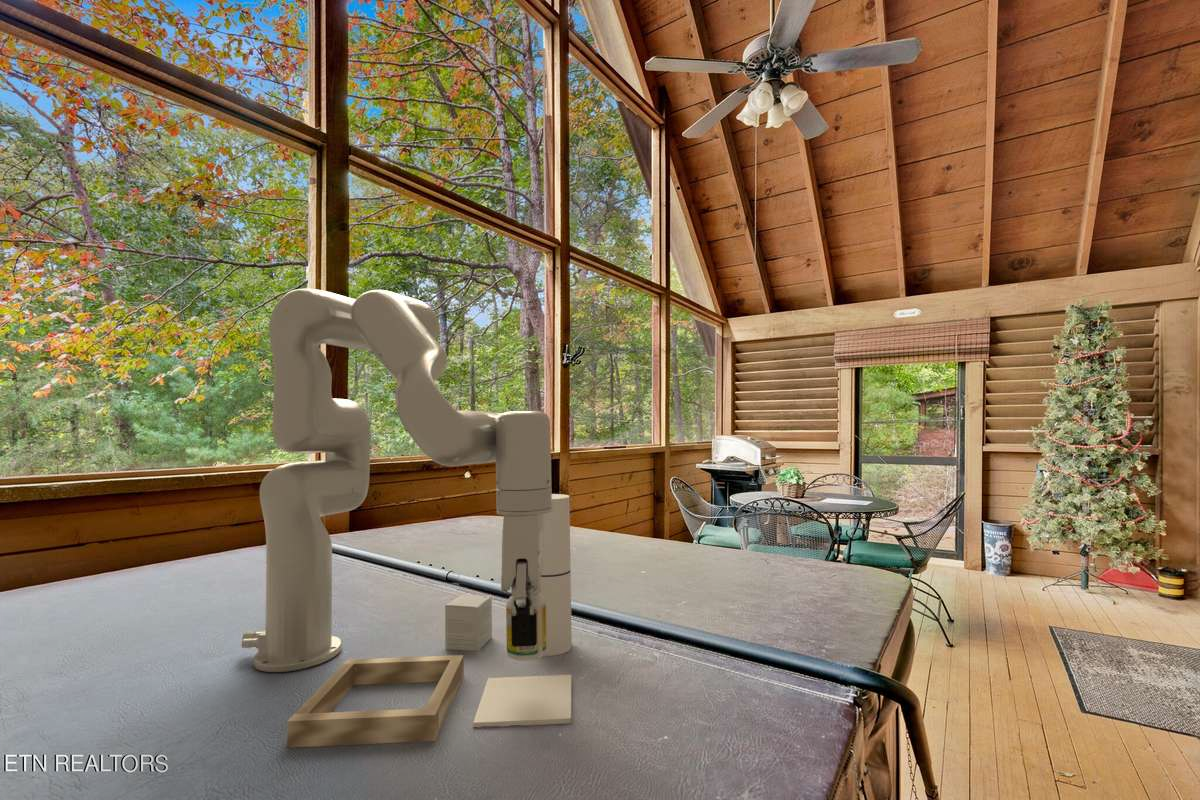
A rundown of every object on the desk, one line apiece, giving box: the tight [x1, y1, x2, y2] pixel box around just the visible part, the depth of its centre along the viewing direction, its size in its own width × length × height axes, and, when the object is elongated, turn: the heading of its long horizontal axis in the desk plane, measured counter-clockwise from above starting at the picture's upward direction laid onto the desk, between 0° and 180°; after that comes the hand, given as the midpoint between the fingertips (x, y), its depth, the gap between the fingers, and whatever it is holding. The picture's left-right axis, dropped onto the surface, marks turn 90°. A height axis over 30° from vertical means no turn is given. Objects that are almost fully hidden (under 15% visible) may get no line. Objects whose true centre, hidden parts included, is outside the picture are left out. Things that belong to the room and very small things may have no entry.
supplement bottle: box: [505, 581, 546, 662], centre depth 74 cm, size 5×5×10 cm
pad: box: [472, 674, 572, 728], centre depth 73 cm, size 12×12×1 cm
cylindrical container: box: [539, 493, 573, 657], centre depth 92 cm, size 7×7×25 cm
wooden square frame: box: [286, 654, 465, 749], centre depth 72 cm, size 17×17×3 cm
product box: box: [444, 594, 493, 652], centre depth 94 cm, size 6×6×7 cm
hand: (526, 634), depth 74 cm, fingers closed on supplement bottle, 5 cm apart
